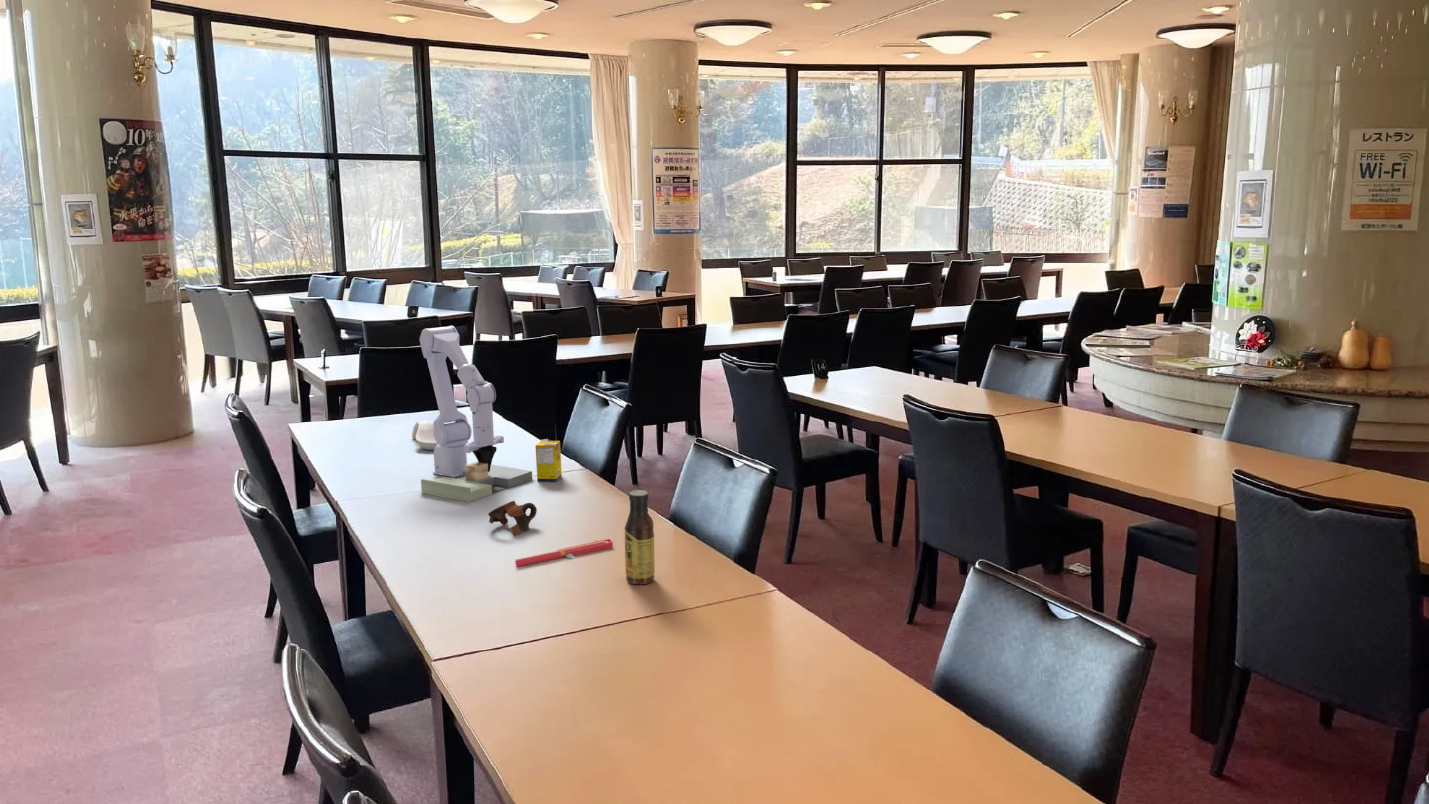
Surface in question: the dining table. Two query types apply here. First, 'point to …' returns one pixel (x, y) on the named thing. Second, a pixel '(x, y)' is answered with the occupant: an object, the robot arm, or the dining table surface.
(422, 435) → the spoon rest
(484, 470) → the maple block
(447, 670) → the dining table surface
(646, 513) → the sauce bottle
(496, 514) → the pottery mug
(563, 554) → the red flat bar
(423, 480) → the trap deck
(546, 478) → the supplement box
